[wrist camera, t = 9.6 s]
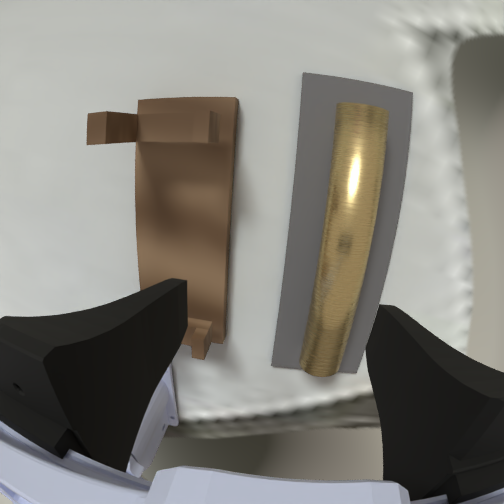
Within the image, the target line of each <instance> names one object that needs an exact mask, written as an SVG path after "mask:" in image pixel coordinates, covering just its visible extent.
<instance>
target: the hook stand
mask: <svg viewBox="0 0 504 504" xmlns="http://www.w3.org/2000/svg"><path fill="white" fill-rule="evenodd" d="M237 114H238V99H237V98H236V97H180V98H159V99H144V100H138V111H137V114H129V113H119V112H108V111H106V112H97V113H89V114H88V120H87V145H95V144H111V143H126V142H136V156H135V207H136V236H137V254H138V268H139V280H140V291H141V290H143V289H146V288H148V287H150V286H153V285H155V284H157V283H159V282H162V281H164V280H167V279H170V278H176V279H182V280H187V305H188V327H187V330H186V332H185V335H184V338H183V340H182V343H181V344H184V345H190V346H191V347H192V358H196V359H202V360H204V359H205V356H206V354H207V352H208V349H209V347H210V344H211V342H213V343H220V344H223V342H224V339H225V335H226V308H227V283H228V261H229V241H230V222H231V204H232V187H233V171H234V156H235V141H236V127H237Z"/></svg>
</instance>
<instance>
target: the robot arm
mask: <svg viewBox="0 0 504 504" xmlns="http://www.w3.org/2000/svg"><path fill="white" fill-rule="evenodd" d="M187 327H188V305H187V280H182V279H176V278H170V279H167V280H164V281H162V282H159V283H157V284H155V285H153V286H150V287H148V288H146V289H143V290H141V291H139V292H137V293H134V294H132V295H129V296H127V297H124V298H122V299H119V300H116V301H114V302H111V303H108V304H105V305H102V306H98V307H95V308H91V309H87V310H82V311H77V312H72V313H66V314H60V315H52V316H39V317H13V316H4V317H2V318H1V319H0V492H1V493H2V494H3V495H4V496H6V497H7V498H8V499H9V500H11V501H12V502H13V504H504V373H503V372H500V371H498V370H495V369H493V368H490V367H488V366H486V365H484V364H482V363H479V362H477V361H475V360H473V359H471V358H469V357H468V356H466V355H464V354H462V353H461V352H459V351H457V350H456V349H454V348H452V347H451V346H449V345H448V344H446V343H445V342H443V341H442V340H441V339H439V338H438V337H436V336H435V335H434V334H432V333H431V332H430V331H428V330H427V329H426V328H424V327H423V326H422V325H420V324H419V323H418V322H417V321H415V320H414V319H413V318H411V317H410V316H409V315H408V314H406V313H405V312H403V311H402V310H401V309H399V308H397V307H396V306H392V305H381V304H379V308H378V311H377V314H376V318H375V321H374V324H373V327H372V330H371V333H370V336H369V339H368V342H367V345H366V348H365V349H366V359H367V367H368V373H369V377H370V381H371V385H372V388H373V392H374V396H375V400H376V404H377V408H378V412H379V417H380V423H381V431H382V443H383V481H381V480H302V479H287V478H275V477H265V476H257V475H250V474H243V473H236V472H230V471H225V470H219V469H213V468H202V467H193V466H185V465H183V466H179V467H173V468H169V469H163V470H159V471H157V473H156V475H155V477H154V480H153V482H150V481H147V480H145V479H143V478H142V477H141V474H142V472H144V471H145V470H146V469H147V468H148V467H149V466H150V465H151V463H152V461H153V459H154V457H155V454H156V452H157V450H158V448H159V445H160V443H161V441H162V438H163V436H164V434H165V432H166V429H167V427H168V425H172V426H177V425H178V423H179V420H178V414H177V407H176V400H175V393H174V385H173V377H172V368H171V362H172V360H173V358H174V356H175V354H176V353H177V351H178V349H179V347H180V345H181V343H182V340H183V338H184V335H185V332H186V330H187Z"/></svg>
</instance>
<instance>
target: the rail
mask: <svg viewBox="0 0 504 504" xmlns="http://www.w3.org/2000/svg"><path fill="white" fill-rule="evenodd" d="M388 121H389V111H388V110H385V109H383V108H380V107H376V106H372V105H367V104H360V103H349V102H342V103H337V104H336V116H335V128H334V139H333V149H332V159H331V168H330V177H329V185H328V193H327V201H326V209H325V216H324V223H323V230H322V237H321V244H320V250H319V257H318V263H317V269H316V275H315V281H314V286H313V292H312V298H311V303H310V309H309V314H308V319H307V324H306V329H305V334H304V339H303V344H302V349H301V354H300V358H299V364H300V366H301V368H302V369H303V370H304V371H305V372H307V373H309V374H311V375H314V376H318V377H327V376H331V375H333V374H335V373H336V372H337V371H338V370H339V367H340V364H341V361H342V358H343V355H344V351H345V348H346V345H347V341H348V338H349V334H350V331H351V327H352V324H353V320H354V316H355V312H356V309H357V305H358V301H359V297H360V293H361V289H362V284H363V280H364V276H365V271H366V267H367V262H368V258H369V253H370V248H371V243H372V238H373V232H374V227H375V221H376V216H377V210H378V204H379V197H380V191H381V184H382V177H383V169H384V161H385V152H386V143H387V133H388Z"/></svg>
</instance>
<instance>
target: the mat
mask: <svg viewBox="0 0 504 504" xmlns="http://www.w3.org/2000/svg"><path fill="white" fill-rule="evenodd" d="M412 99H413V93H412V92H409V91H405V90H401V89H397V88H392V87H388V86H384V85H379V84H374V83H369V82H364V81H359V80H353V79H347V78H341V77H335V76H328V75H320V74H312V73H303V78H302V92H301V106H300V118H299V131H298V142H297V154H296V164H295V175H294V185H293V195H292V205H291V214H290V223H289V232H288V241H287V250H286V258H285V267H284V275H283V283H282V291H281V298H280V306H279V313H278V321H277V328H276V335H275V342H274V349H273V356H272V363H271V366H278V367H287V368H297V369H302V368H301V366H300V364H299V358H300V354H301V349H302V344H303V339H304V334H305V329H306V324H307V319H308V314H309V309H310V303H311V298H312V292H313V286H314V281H315V275H316V269H317V263H318V257H319V250H320V244H321V237H322V230H323V223H324V216H325V209H326V201H327V193H328V185H329V177H330V168H331V159H332V149H333V139H334V128H335V116H336V104H337V103H342V102H349V103H360V104H367V105H372V106H376V107H380V108H383V109H385V110H388V111H389V121H388V133H387V143H386V152H385V161H384V169H383V177H382V184H381V191H380V197H379V204H378V210H377V216H376V221H375V227H374V232H373V238H372V243H371V248H370V253H369V258H368V262H367V267H366V271H365V276H364V280H363V284H362V289H361V293H360V297H359V301H358V305H357V309H356V312H355V316H354V320H353V324H352V327H351V331H350V334H349V338H348V341H347V345H346V348H345V351H344V355H343V358H342V361H341V364H340V367H339V370H338V371H337V372H349V373H357V370H358V367H359V364H360V361H361V359H362V356H363V353H364V350H365V347H366V344H367V341H368V338H369V334H370V331H371V328H372V325H373V321H374V318H375V315H376V311H377V308H378V304H379V301H380V297H381V293H382V290H383V286H384V282H385V278H386V274H387V270H388V266H389V261H390V257H391V253H392V248H393V243H394V239H395V234H396V229H397V224H398V218H399V213H400V207H401V201H402V195H403V189H404V182H405V175H406V167H407V159H408V150H409V141H410V130H411V116H412Z"/></svg>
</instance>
